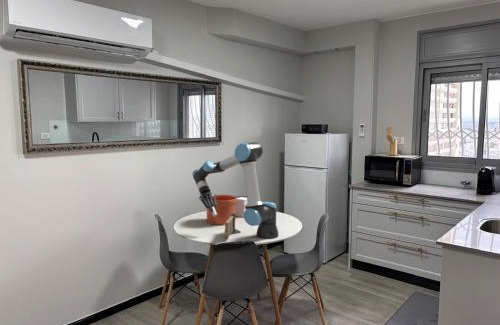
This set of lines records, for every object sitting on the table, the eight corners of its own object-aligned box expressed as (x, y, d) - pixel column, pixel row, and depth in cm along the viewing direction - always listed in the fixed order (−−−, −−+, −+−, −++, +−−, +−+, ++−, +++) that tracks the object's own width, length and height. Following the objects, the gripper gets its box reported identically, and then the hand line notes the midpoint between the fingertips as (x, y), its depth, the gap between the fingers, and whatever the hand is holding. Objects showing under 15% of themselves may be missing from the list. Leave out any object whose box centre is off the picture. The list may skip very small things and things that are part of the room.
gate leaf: (230, 230, 256) (230, 216, 254) (233, 231, 255) (233, 216, 254) (225, 238, 237) (225, 223, 236) (227, 239, 237) (227, 223, 236)
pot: (212, 216, 302) (212, 193, 300) (240, 218, 295) (241, 195, 293) (199, 224, 278) (199, 199, 276) (230, 227, 271) (230, 201, 269)
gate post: (234, 230, 263) (234, 211, 262) (240, 232, 256) (240, 213, 255) (224, 231, 258) (224, 213, 257) (230, 234, 252) (230, 215, 251)
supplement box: (244, 217, 299) (244, 199, 298) (234, 216, 304) (235, 198, 302) (249, 215, 307) (250, 197, 305) (240, 214, 311) (241, 196, 310)
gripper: (209, 190, 268) (221, 217, 256) (193, 192, 260) (205, 219, 248) (213, 184, 263) (225, 211, 251) (197, 185, 255) (208, 213, 243)
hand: (215, 215), depth 249 cm, fingers closed
